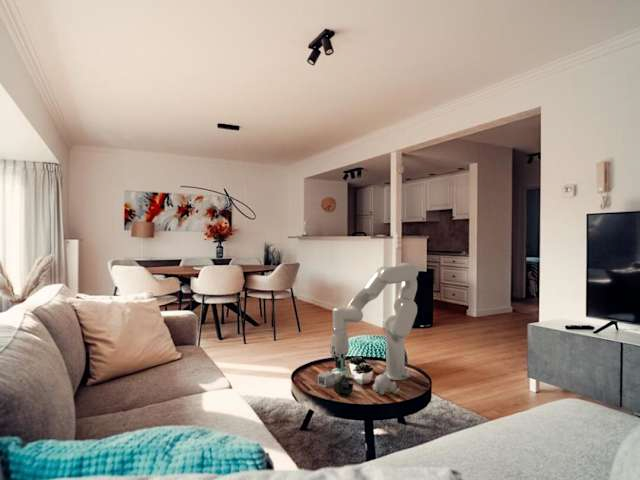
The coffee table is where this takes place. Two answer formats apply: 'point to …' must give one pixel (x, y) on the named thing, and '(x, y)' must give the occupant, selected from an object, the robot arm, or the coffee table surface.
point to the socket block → (343, 372)
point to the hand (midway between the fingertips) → (340, 366)
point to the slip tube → (337, 373)
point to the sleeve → (326, 379)
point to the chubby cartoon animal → (384, 384)
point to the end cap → (343, 386)
